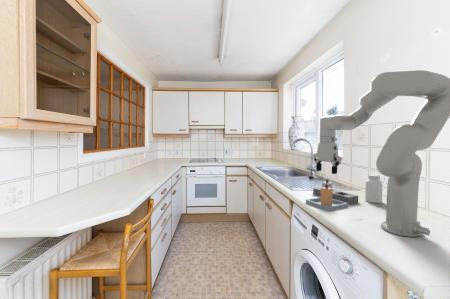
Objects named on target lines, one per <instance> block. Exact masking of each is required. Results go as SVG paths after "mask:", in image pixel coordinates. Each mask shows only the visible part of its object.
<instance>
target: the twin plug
mask: <svg viewBox="0 0 450 299" xmlns="http://www.w3.org/2000/svg"><path fill="white" fill-rule="evenodd" d="M321 183H322V184H321V187H325V184H328V188H332V189H333V182H329V179H327V178H326V179H325V181H323V182H321Z"/></svg>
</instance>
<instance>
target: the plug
mask: <svg viewBox="0 0 450 299" xmlns="http://www.w3.org/2000/svg"><path fill="white" fill-rule="evenodd" d="M321 187H322V186H321ZM332 189H333V187H332V188H328V184H325V187H322V188H321V196H320V197H321V204H322V205H325V206H331V205H332Z"/></svg>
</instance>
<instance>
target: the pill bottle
mask: <svg viewBox="0 0 450 299" xmlns="http://www.w3.org/2000/svg"><path fill="white" fill-rule="evenodd" d="M380 177H381V176H380V175H378V174H368V179H366V180H365V187H364V188H365V191H364V192H365V193H364V195H365V202H368V203H371V204H381V203H382V202H383V182H382V181H381V180H380Z"/></svg>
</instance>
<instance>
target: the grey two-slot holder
mask: <svg viewBox="0 0 450 299" xmlns="http://www.w3.org/2000/svg"><path fill="white" fill-rule="evenodd" d="M321 188H322V186H319V187H313V189H312V190H313V191H312V193H313V194H312V195H315V196H318V197H321ZM332 199H335V200H339V201H342V202H346V203H348V205H351V204H352V205H353V204H357V203H359V195H357V194H353V193H348V192H345V191H341V190H336V189H333V188H332Z"/></svg>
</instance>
